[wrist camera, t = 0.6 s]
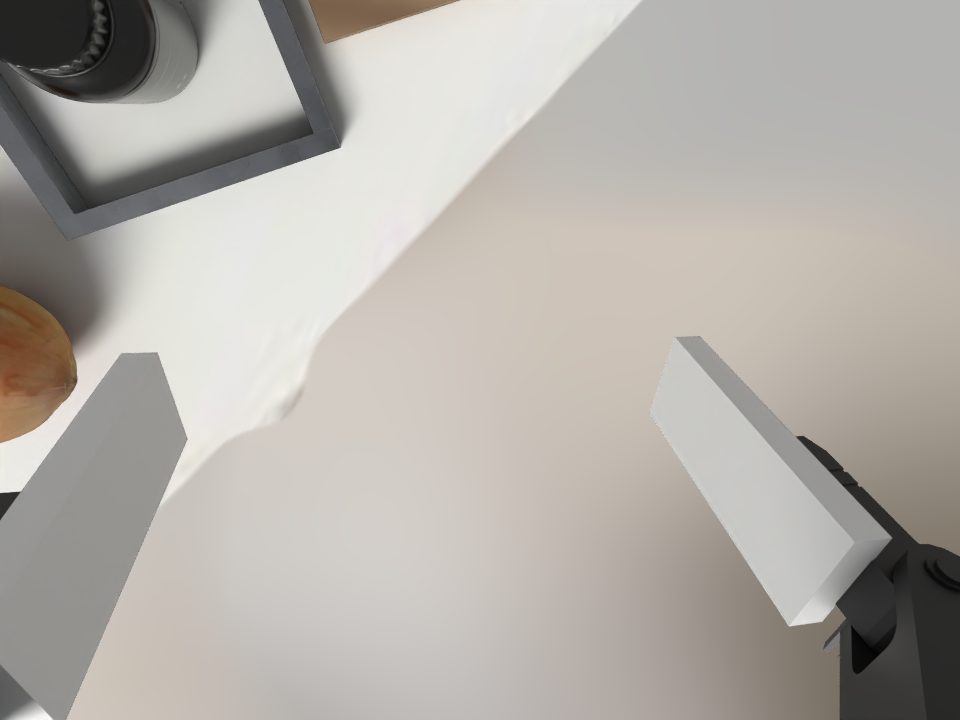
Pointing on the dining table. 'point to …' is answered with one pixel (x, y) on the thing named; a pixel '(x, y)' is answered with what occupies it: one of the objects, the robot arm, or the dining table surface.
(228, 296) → the dining table surface
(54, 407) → the onion
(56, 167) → the metal rim
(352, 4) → the walnut board
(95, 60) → the supplement bottle
